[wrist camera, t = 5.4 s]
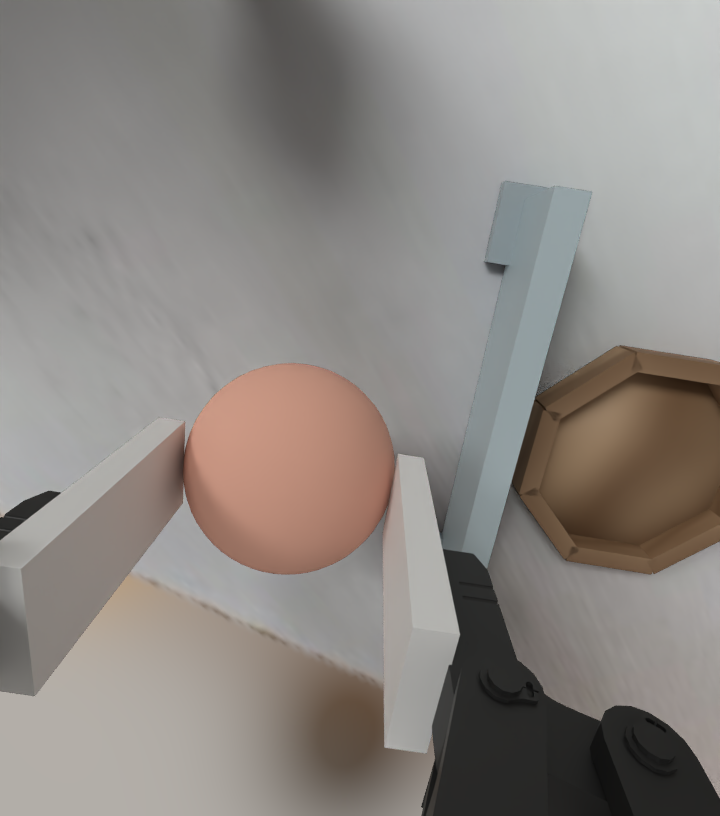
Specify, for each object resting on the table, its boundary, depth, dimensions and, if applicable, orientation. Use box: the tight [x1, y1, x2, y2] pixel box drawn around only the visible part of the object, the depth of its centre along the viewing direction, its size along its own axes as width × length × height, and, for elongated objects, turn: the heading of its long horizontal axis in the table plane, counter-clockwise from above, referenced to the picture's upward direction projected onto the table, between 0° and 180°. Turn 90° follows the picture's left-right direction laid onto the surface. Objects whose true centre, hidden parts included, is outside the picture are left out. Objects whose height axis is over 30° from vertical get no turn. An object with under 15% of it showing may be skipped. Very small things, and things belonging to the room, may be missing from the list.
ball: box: [183, 363, 395, 574], centre depth 15 cm, size 6×6×6 cm
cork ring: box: [511, 345, 720, 574], centre depth 21 cm, size 10×10×2 cm
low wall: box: [439, 181, 592, 569], centre depth 20 cm, size 3×19×4 cm, turn 171°
